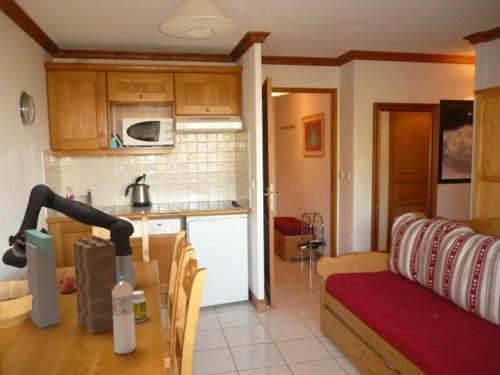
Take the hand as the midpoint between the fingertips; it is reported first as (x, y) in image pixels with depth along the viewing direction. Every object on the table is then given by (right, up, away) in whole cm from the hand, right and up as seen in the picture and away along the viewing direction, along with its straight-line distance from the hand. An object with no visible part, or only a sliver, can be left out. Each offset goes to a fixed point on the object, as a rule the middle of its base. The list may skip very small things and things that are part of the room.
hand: (32, 231), depth 166 cm
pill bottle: (+44, -35, -3) cm, 56 cm away
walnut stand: (+29, -35, -8) cm, 46 cm away
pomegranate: (+1, -33, +31) cm, 45 cm away
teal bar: (+5, -5, -4) cm, 8 cm away
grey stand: (+7, -35, -3) cm, 36 cm away
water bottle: (+46, -37, -28) cm, 65 cm away
